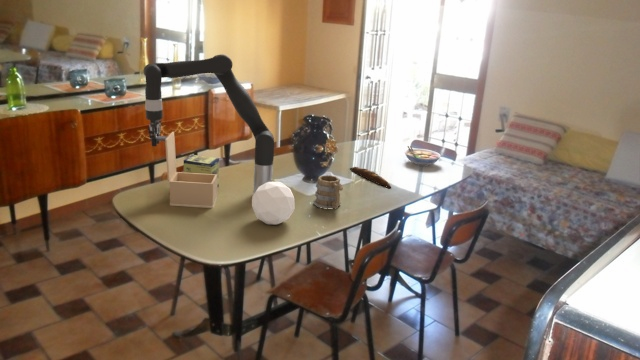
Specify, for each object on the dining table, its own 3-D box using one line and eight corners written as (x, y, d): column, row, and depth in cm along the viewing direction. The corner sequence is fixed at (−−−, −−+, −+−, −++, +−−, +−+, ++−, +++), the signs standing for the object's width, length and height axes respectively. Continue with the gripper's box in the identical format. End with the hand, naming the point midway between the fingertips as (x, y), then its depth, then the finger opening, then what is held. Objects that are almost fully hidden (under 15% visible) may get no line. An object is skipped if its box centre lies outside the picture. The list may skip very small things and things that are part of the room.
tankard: (310, 201, 282) (312, 173, 277) (333, 199, 287) (335, 171, 282) (326, 216, 264) (328, 186, 260) (350, 214, 269) (352, 185, 264)
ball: (268, 240, 251) (251, 215, 236) (257, 210, 264) (239, 184, 250) (306, 221, 251) (291, 194, 237) (292, 192, 265) (277, 165, 250)
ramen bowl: (442, 171, 346) (444, 159, 343) (405, 169, 346) (407, 156, 343) (435, 160, 370) (437, 148, 367) (401, 157, 369) (402, 145, 367)
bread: (394, 189, 310) (395, 180, 308) (388, 190, 307) (389, 182, 306) (352, 169, 339) (353, 161, 337) (346, 170, 336) (347, 162, 335)
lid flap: (174, 131, 266) (155, 131, 266) (166, 139, 252) (147, 139, 252) (176, 171, 273) (158, 171, 272) (169, 181, 259) (150, 180, 259)
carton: (217, 197, 277) (217, 174, 273) (212, 207, 264) (212, 184, 260) (176, 194, 276) (176, 171, 272) (170, 205, 263) (169, 181, 259)
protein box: (211, 193, 282) (212, 163, 277) (183, 188, 285) (182, 159, 280) (219, 186, 292) (219, 158, 287) (191, 182, 295) (191, 154, 290)
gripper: (158, 112, 248) (159, 149, 254) (166, 105, 262) (167, 141, 267) (141, 111, 248) (143, 148, 254) (149, 105, 262) (151, 140, 267)
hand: (155, 144), depth 261 cm, fingers closed on lid flap, 4 cm apart
